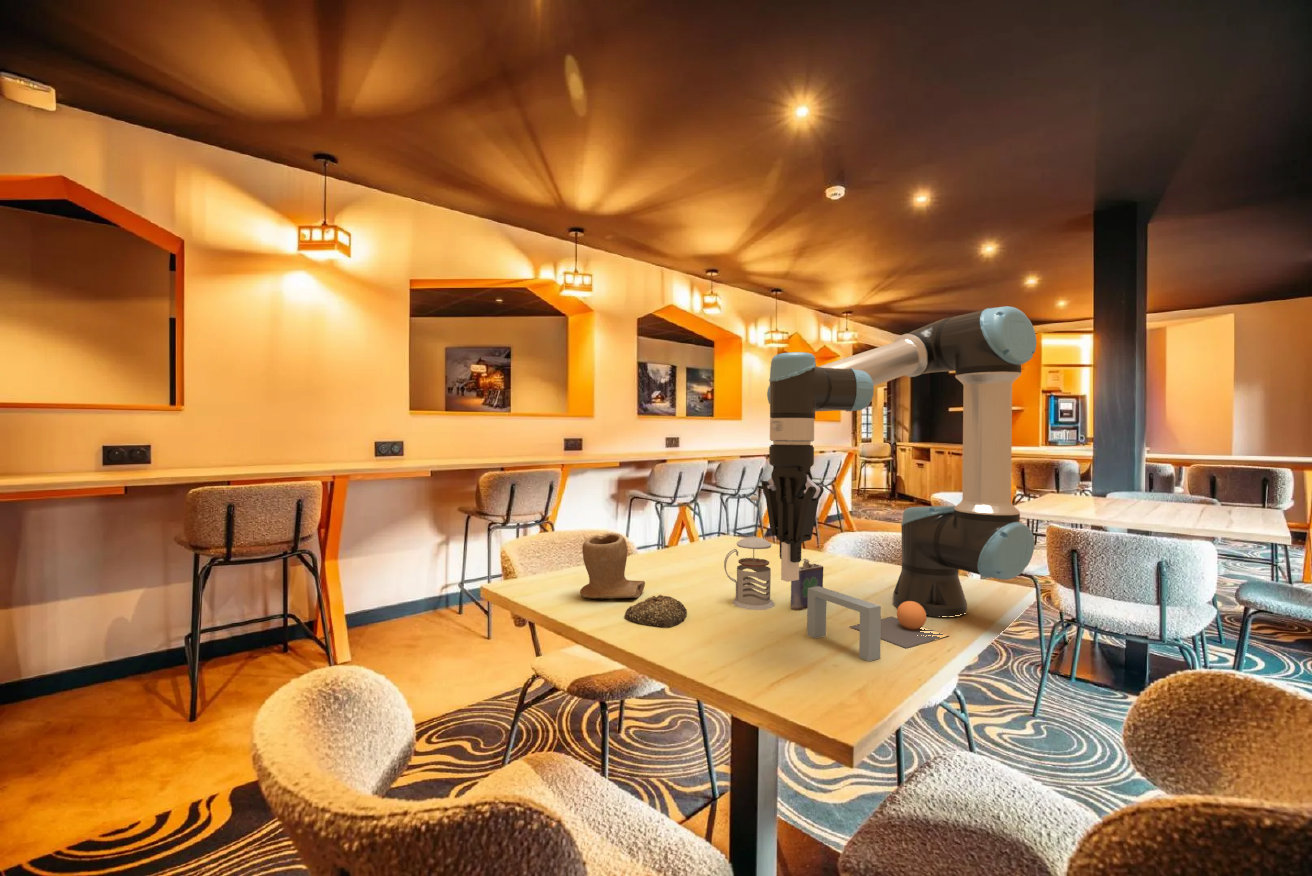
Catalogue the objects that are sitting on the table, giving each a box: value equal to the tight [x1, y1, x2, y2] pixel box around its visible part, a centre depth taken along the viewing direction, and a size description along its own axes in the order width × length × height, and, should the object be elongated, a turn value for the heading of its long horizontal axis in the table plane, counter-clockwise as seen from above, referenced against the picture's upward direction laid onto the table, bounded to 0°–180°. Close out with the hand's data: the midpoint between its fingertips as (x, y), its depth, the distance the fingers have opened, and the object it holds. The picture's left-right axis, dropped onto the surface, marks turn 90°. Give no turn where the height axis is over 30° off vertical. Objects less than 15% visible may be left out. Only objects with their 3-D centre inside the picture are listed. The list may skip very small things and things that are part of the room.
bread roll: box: [624, 594, 688, 628], centre depth 121 cm, size 13×12×5 cm
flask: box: [790, 558, 824, 611], centre depth 129 cm, size 9×3×11 cm, turn 121°
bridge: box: [806, 586, 882, 662], centre depth 105 cm, size 3×14×9 cm, turn 30°
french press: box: [723, 494, 776, 611], centre depth 131 cm, size 10×12×25 cm
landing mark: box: [849, 616, 944, 649], centre depth 113 cm, size 13×13×1 cm
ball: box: [896, 601, 927, 630], centre depth 114 cm, size 6×6×6 cm
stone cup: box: [579, 532, 646, 599], centre depth 134 cm, size 15×12×15 cm
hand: (790, 579), depth 98 cm, fingers closed
